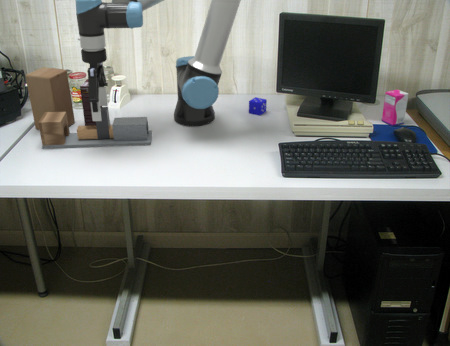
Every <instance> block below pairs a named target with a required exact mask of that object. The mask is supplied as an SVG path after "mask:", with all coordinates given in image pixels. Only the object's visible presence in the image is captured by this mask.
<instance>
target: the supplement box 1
mask: <svg viewBox="0 0 450 346" xmlns="http://www.w3.org/2000/svg"><path fill="white" fill-rule="evenodd" d="M79 89H80V97H81V104H82V111H83V112H82V113H83V118H84V119H83V120H84V126H90V125H96V121H93V120H92V111H91V103H90V102H88V101H87V100H89V89H88V78H87V79H86V80H85V81H84V82H83V83H82V84H81V85H79ZM100 107H103V106H100Z"/></svg>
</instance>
